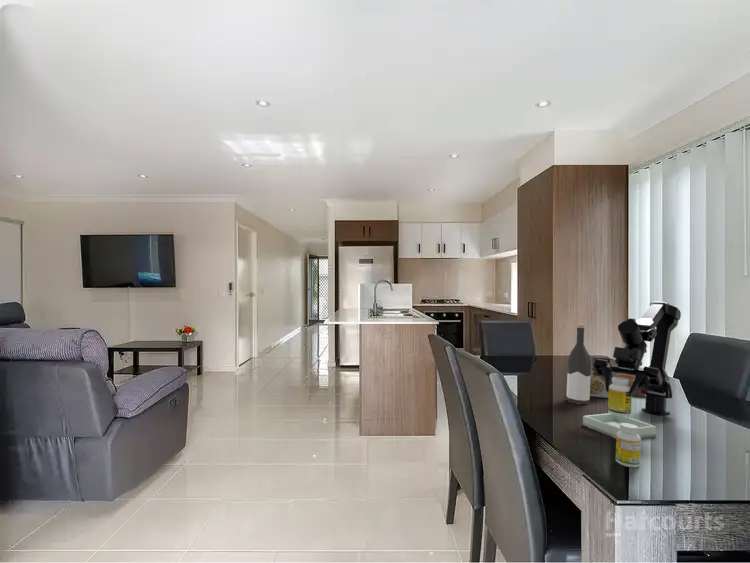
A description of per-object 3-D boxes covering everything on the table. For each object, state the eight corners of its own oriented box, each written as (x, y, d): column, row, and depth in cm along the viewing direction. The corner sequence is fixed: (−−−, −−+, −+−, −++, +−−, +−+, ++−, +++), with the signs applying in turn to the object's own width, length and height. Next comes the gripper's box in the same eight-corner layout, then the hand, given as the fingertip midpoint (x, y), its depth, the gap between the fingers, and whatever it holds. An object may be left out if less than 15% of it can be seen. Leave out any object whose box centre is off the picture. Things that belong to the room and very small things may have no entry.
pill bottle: (629, 418, 129) (630, 381, 129) (606, 414, 133) (607, 378, 133) (632, 413, 134) (633, 378, 134) (610, 409, 138) (611, 375, 138)
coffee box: (606, 394, 178) (608, 355, 178) (609, 398, 172) (611, 358, 172) (582, 392, 181) (583, 353, 181) (584, 395, 175) (586, 356, 175)
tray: (614, 421, 142) (615, 412, 142) (655, 436, 129) (656, 426, 129) (582, 425, 137) (583, 415, 137) (622, 441, 124) (622, 430, 124)
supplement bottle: (637, 470, 105) (639, 430, 105) (613, 463, 108) (614, 425, 108) (641, 463, 109) (643, 425, 109) (617, 457, 112) (619, 420, 112)
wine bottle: (590, 401, 167) (593, 324, 167) (588, 406, 160) (591, 325, 160) (568, 397, 171) (571, 322, 171) (564, 402, 164) (567, 323, 164)
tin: (610, 392, 182) (610, 372, 182) (609, 391, 185) (609, 371, 185) (651, 397, 177) (652, 377, 177) (649, 395, 180) (650, 375, 180)
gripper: (596, 334, 143) (579, 371, 136) (660, 341, 129) (646, 383, 122) (605, 355, 148) (590, 392, 141) (668, 365, 134) (654, 406, 127)
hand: (618, 393), depth 133 cm, fingers closed on pill bottle, 6 cm apart
